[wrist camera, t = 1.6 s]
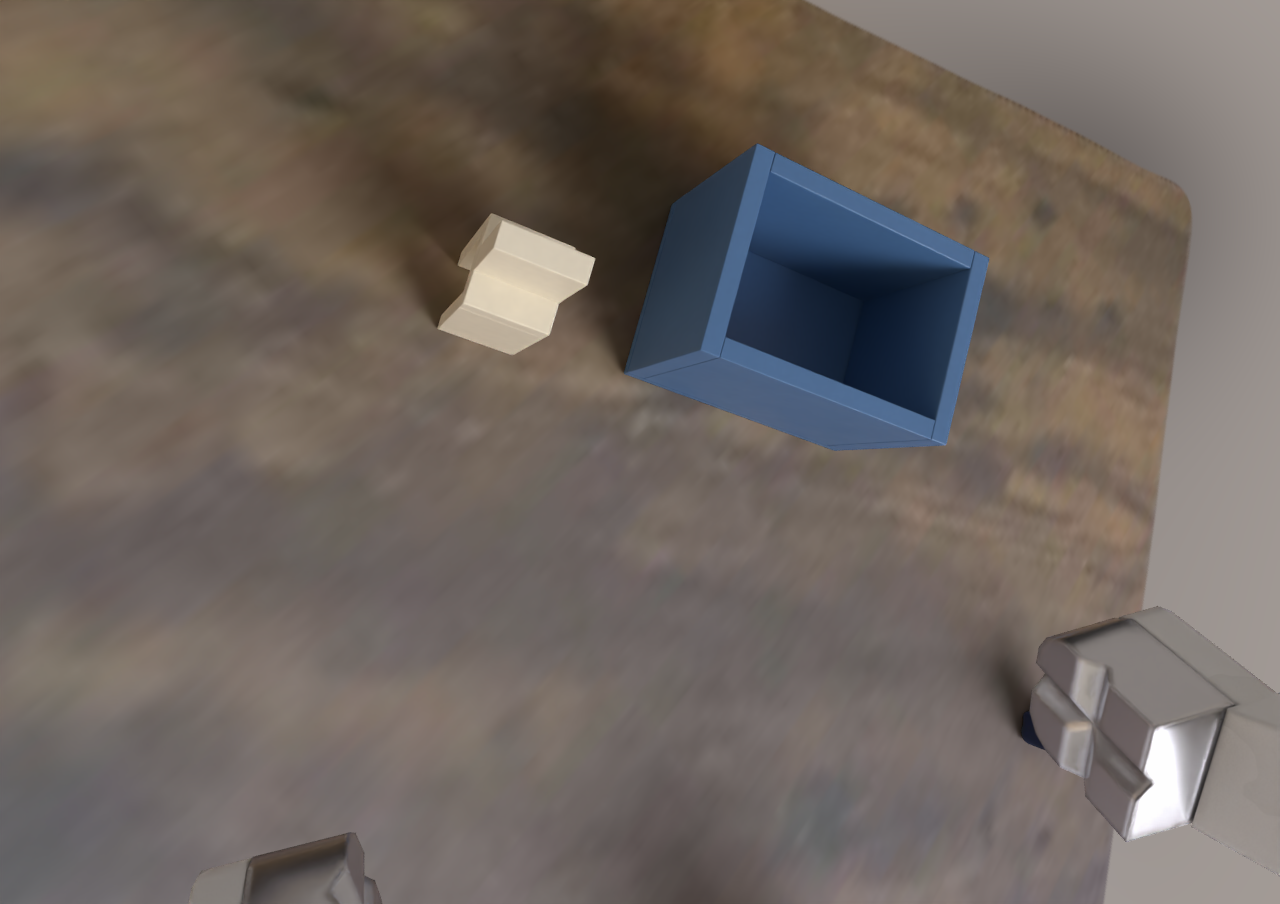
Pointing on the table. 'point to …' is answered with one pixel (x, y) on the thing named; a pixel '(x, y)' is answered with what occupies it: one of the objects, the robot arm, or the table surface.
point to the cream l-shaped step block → (513, 285)
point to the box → (808, 309)
